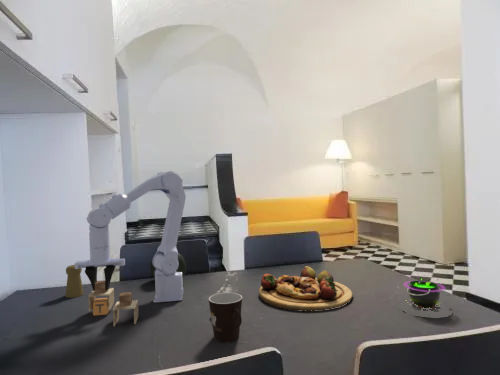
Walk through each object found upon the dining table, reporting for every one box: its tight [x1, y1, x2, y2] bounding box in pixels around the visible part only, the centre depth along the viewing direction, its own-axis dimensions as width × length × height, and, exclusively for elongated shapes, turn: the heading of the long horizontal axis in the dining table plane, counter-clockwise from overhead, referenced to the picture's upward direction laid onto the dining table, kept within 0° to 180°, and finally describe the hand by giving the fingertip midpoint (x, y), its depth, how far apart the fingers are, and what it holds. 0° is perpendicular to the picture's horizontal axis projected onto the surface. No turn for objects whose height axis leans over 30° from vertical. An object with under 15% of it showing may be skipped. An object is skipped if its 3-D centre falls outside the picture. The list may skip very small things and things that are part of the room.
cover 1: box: [87, 280, 115, 312], centre depth 108 cm, size 6×6×8 cm
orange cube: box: [92, 297, 111, 317], centre depth 108 cm, size 4×4×4 cm
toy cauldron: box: [403, 271, 447, 312], centre depth 104 cm, size 15×15×11 cm
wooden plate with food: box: [258, 265, 354, 312], centre depth 120 cm, size 32×32×8 cm
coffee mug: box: [208, 293, 243, 343], centre depth 87 cm, size 12×9×10 cm
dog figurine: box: [215, 271, 239, 294], centre depth 110 cm, size 5×13×11 cm, turn 163°
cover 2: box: [112, 291, 139, 327], centre depth 101 cm, size 6×6×8 cm
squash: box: [149, 252, 187, 280], centre depth 143 cm, size 14×15×15 cm
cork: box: [65, 264, 84, 299], centre depth 127 cm, size 6×6×11 cm
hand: (101, 289), depth 108 cm, fingers closed on cover 1, 3 cm apart
